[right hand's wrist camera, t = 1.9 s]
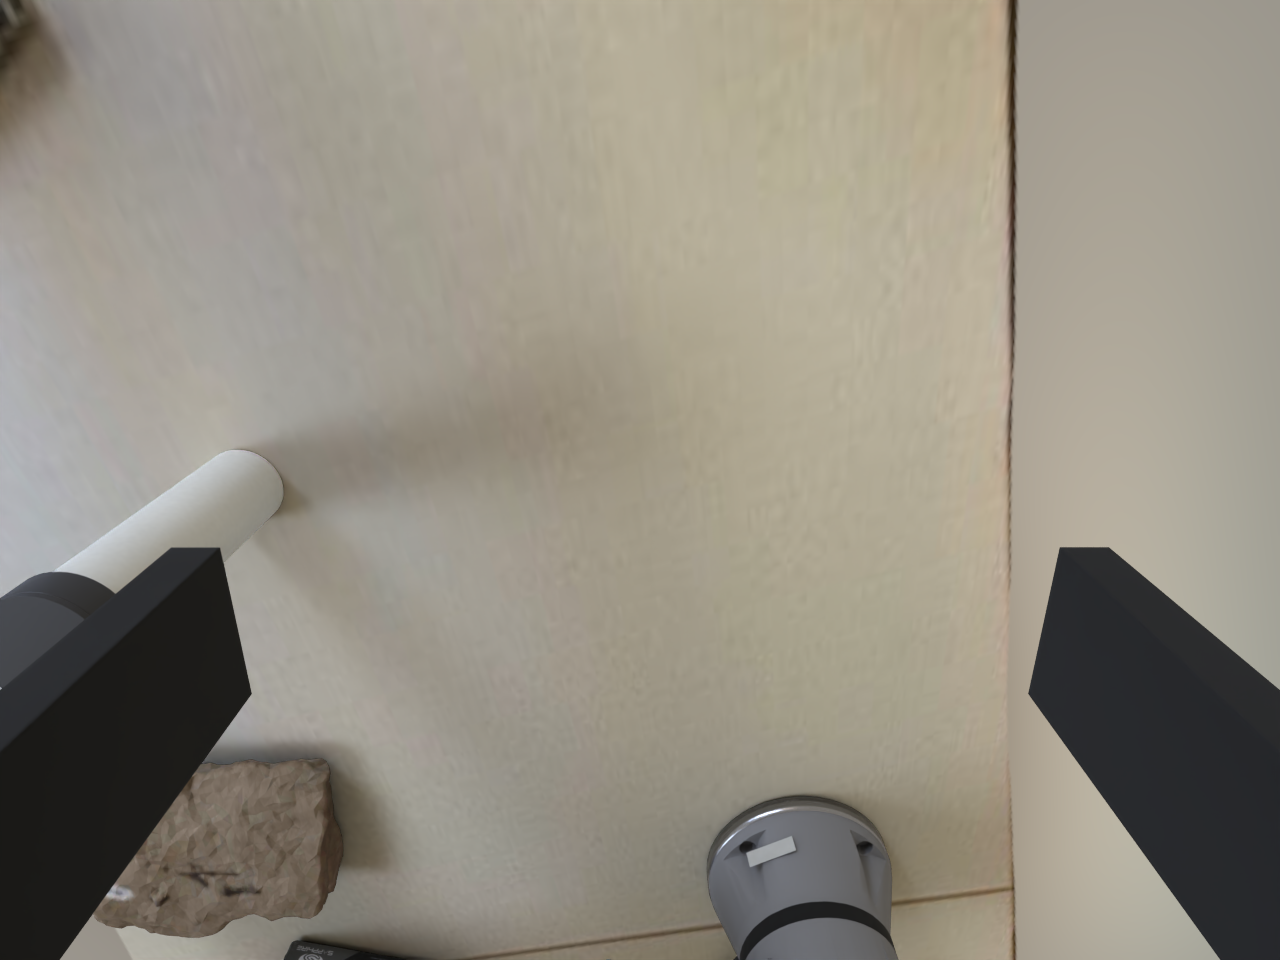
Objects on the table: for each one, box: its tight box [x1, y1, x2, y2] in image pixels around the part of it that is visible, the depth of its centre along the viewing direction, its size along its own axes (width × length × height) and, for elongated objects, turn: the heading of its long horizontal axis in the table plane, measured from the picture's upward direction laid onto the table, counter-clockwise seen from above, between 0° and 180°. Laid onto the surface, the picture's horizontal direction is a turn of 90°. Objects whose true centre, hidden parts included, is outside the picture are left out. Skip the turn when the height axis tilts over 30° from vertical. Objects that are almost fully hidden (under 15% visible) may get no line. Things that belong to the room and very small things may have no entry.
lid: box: [0, 572, 115, 688], centre depth 38 cm, size 6×6×2 cm
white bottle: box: [53, 450, 284, 594], centre depth 47 cm, size 5×5×20 cm
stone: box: [93, 758, 343, 938], centre depth 64 cm, size 21×15×6 cm
